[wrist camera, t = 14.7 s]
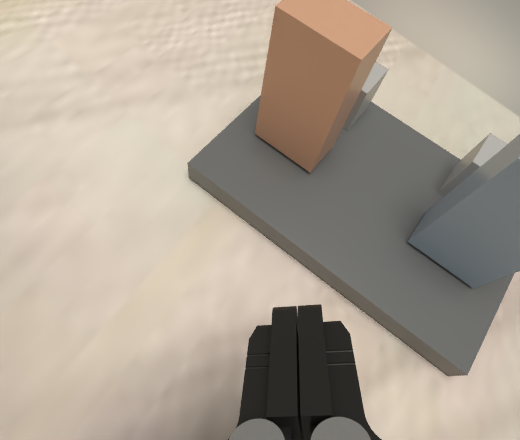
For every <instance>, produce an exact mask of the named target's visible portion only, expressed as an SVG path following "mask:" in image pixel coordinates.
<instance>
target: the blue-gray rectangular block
mask: <svg viewBox="0 0 520 440" xmlns="http://www.w3.org/2000/svg"><path fill="white" fill-rule="evenodd" d="M407 242H409V243H410V244H412V245H413V246H415V247H416V248H417V249H419V250H420V251H422V252H423V253H424V254H426V255H427V256H429V257H430V258H431V259H433V260H434V261H436V262H437V263H438V264H440V265H441V266H443V267H444V268H445V269H447V270H448V271H450V272H451V273H452V274H454V275H455V276H457V277H458V278H460V279H461V280H462V281H464V282H465V283H467V284H468V285H469V286H471V287H472V288H476V287H478V286H481V285H484V284H486V283H489V282H492V281H494V280H497V279H500V278H502V277H505V276H507V275H510V274H513V273H515V272H518V271H520V134H519V135H518V136H517V137H516V138H515V139H513V140H512V141H511V142H510V143H509V144H507V145H506V146H505V147H504V148H503V149H501V150H500V151H499V152H498V153H496V154H495V155H494V156H493V157H492V158H490V159H489V160H488V161H487V162H486V163H484V164H483V165H482V166H481V167H479V168H478V169H477V170H476V171H475V172H473V173H472V174H471V175H470V176H469V177H467V178H466V179H465V180H464V181H463V182H461V183H460V184H459V185H458V186H456V187H455V188H454V189H453V190H452V191H450V192H449V193H448V194H447V195H446V196H444V197H443V198H442V199H441V200H439V201H438V202H437V203H436V204H435V205H433V206H432V207H431V208H430V209H429V210H427V212H426V213H425V215H424V216H423V218H422V219H421V221H420V223H419V224H418V226H417V227H416V229H415V230H414V232H413V234H412V235H411V237H410V238H409V240H408V241H407Z"/></svg>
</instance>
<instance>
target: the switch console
mask: <svg viewBox="0 0 520 440" xmlns="http://www.w3.org/2000/svg"><path fill="white" fill-rule="evenodd" d="M387 71H388V69H387V68H386V67H384V66H382V65H381V64H379V63H378V62H375V64H374V66H373V68H372V70H371V72H370V74H369V76H368V78H367V80H366V82H365V84H364V86H363V88H362V90H361V92H360V94H359V96H358V98H357V100H356V102H355V104H354V106H353V108H352V110H351V112H350V114H349V116H348V118H347V120H346V122H345V124H344V126H343V128H342V130H341V132H340V134H339V136H338V138H337V140H336V142H335V144H334V146H333V147H332V148H331V150H330V151H329V152H328V153H327V154H326V155H325V157H324V158H323V159H322V160H321V161H320V162H319V164H318V165H317V166H316V167H315V168H314V169H313V170H312V172H311V173H310V172H308V171H307V170H305V169H304V168H303V167H301V166H300V165H298V164H297V163H296V162H294V161H293V160H291V159H290V158H289V157H287V156H286V155H284V154H283V153H282V152H280V151H279V150H277V149H276V148H275V147H273V146H272V145H270V144H269V143H267V142H266V141H265V140H263V139H262V138H260V137H259V136H258V135H256V134H255V128H256V122H257V116H258V110H259V104H260V98H261V95H260V96H259V97H258V98H257V99H256V100H255V101H254V102H253V103H252V104H251V105H250V106H249V107H248V108H246V109H245V110H244V111H243V112H242V113H241V114H240V115H239V116H238V117H237V118H236V119H235V120H234V121H232V122H231V123H230V124H229V125H228V126H227V127H226V128H225V129H224V130H223V131H222V132H221V133H220V134H218V135H217V136H216V137H215V138H214V139H213V140H212V141H211V142H210V143H209V144H208V145H207V146H206V147H204V148H203V149H202V150H201V151H200V152H199V153H198V154H197V155H196V156H195V157H194V158H193V159H192V160H190V161H189V162H188V171H189V178H190V179H191V180H193V181H194V182H195V183H197V184H198V185H199V186H201V187H202V188H203V189H204V190H206V191H207V192H208V193H210V194H211V195H212V196H214V197H215V198H216V199H218V200H219V201H220V202H221V203H223V204H224V205H225V206H227V207H228V208H229V209H231V210H232V211H233V212H235V213H236V214H237V215H238V216H240V217H241V218H242V219H244V220H245V221H246V222H248V223H249V224H250V225H251V226H253V227H254V228H255V229H257V230H258V231H259V232H261V233H262V234H263V235H265V236H266V237H267V238H268V239H270V240H271V241H272V242H274V243H275V244H276V245H278V246H279V247H280V248H282V249H283V250H284V251H285V252H287V253H288V254H289V255H291V256H292V257H293V258H295V259H296V260H297V261H299V262H300V263H301V264H302V265H304V266H305V267H306V268H308V269H309V270H310V271H312V272H313V273H314V274H316V275H317V276H318V277H319V278H321V279H322V280H323V281H325V282H326V283H327V284H329V285H330V286H331V287H332V288H334V289H335V290H336V291H338V292H339V293H340V294H342V295H343V296H344V297H346V298H347V299H348V300H349V301H351V302H352V303H353V304H355V305H356V306H357V307H359V308H360V309H361V310H363V311H364V312H365V313H366V314H368V315H369V316H370V317H372V318H373V319H374V320H376V321H377V322H378V323H380V324H381V325H382V326H383V327H385V328H386V329H387V330H389V331H390V332H391V333H393V334H394V335H395V336H397V337H398V338H399V339H400V340H402V341H403V342H404V343H406V344H407V345H408V346H410V347H411V348H412V349H413V350H415V351H416V352H417V353H419V354H420V355H421V356H423V357H424V358H425V359H427V360H428V361H429V362H430V363H432V364H433V365H434V366H436V367H437V368H438V369H440V370H441V371H442V372H444V373H445V374H446V375H447V376H459V375H468V373H469V371H470V368H471V366H472V364H473V362H474V360H475V358H476V355H477V353H478V351H479V349H480V347H481V345H482V342H483V340H484V338H485V336H486V334H487V332H488V329H489V327H490V325H491V323H492V321H493V319H494V316H495V314H496V312H497V310H498V308H499V306H500V303H501V301H502V299H503V297H504V295H505V293H506V290H507V288H508V286H509V284H510V282H511V280H512V277H513V275H514V273H513V274H510V275H507V276H505V277H502V278H500V279H497V280H494V281H492V282H489V283H486V284H484V285H481V286H478V287H476V288H472V287H471V286H469V285H468V284H467V283H465V282H464V281H462V280H461V279H460V278H458V277H457V276H455V275H454V274H452V273H451V272H450V271H448V270H447V269H445V268H444V267H443V266H441V265H440V264H438V263H437V262H436V261H434V260H433V259H431V258H430V257H429V256H427V255H426V254H424V253H423V252H422V251H420V250H419V249H417V248H416V247H415V246H413V245H412V244H410V243H409V242H407V241H408V240H409V238H410V237H411V235H412V234H413V232H414V230H415V229H416V227H417V226H418V224H419V223H420V221H421V219H422V218H423V216H424V215H425V213H426V212H427V210H429V209H430V208H431V207H432V206H433V205H435V204H436V203H437V202H438V201H439V200H441V199H442V198H443V197H444V196H446V195H447V194H448V193H449V192H450V191H452V190H453V189H454V188H455V187H456V186H458V185H459V184H460V183H461V182H463V181H464V180H465V179H466V178H467V177H469V176H470V175H471V174H472V173H473V172H475V171H476V170H477V169H478V168H479V167H481V166H482V165H483V164H484V163H486V162H487V161H488V160H489V159H490V158H492V157H493V156H494V155H495V154H496V153H498V152H499V151H500V150H501V149H503V148H504V147H505V146H506V145H507V143H505V142H504V141H502V140H501V139H499V138H497V137H496V136H494V135H493V134H491V133H490V134H489V135H488V136H487V137H485V138H484V139H483V140H482V141H481V142H480V143H479V144H478V145H477V146H476V147H475V148H473V149H472V150H471V151H470V152H469V153H468V154H467V155H466V156H465V157H464V158H463V159H461V160H460V159H458V158H457V157H455V156H454V155H452V154H451V153H449V152H448V151H446V150H445V149H443V148H442V147H440V146H438V145H437V144H435V143H434V142H432V141H431V140H429V139H428V138H426V137H425V136H423V135H422V134H420V133H418V132H417V131H415V130H414V129H412V128H411V127H409V126H408V125H406V124H405V123H403V122H402V121H400V120H398V119H397V118H395V117H394V116H392V115H391V114H389V113H388V112H386V111H385V110H383V109H381V108H380V107H378V106H377V105H375V104H374V103H372V102H371V100H372V98H373V97H374V95H375V93H376V91H377V89H378V88H379V86H380V84H381V82H382V80H383V78H384V77H385V75H386V73H387Z"/></svg>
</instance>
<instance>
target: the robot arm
mask: <svg viewBox="0 0 520 440" xmlns="http://www.w3.org/2000/svg"><path fill="white" fill-rule="evenodd" d="M228 440H381V439H380V438H379V437H378V436H377V435H376V434H375V433H374V432H373V431H372V430H371V428H370V426H369V425H368V423H367V421H366V418H365V414H364V409H363V403H362V398H361V392H360V387H359V381H358V376H357V370H356V365H355V359H354V354H353V348H352V343H351V337H350V333H349V332H348V331H347V329H346V328H345V327H344V325H343V324H342V322H341V321H331V322H323V317H322V307H321V305H306V306H298V314H297V307H296V306H291V307H275V308H273V312H272V325H263V326H257V327H256V329H255V330H254V332H253V334H252V335H251V337H250V338H249V344H248V352H247V360H246V370H245V376H244V384H243V392H242V400H241V408H240V416H239V421H238V424H237V427H236V429H235V430H234V431H233V433H232V434H231V436H230V438H229V439H228Z"/></svg>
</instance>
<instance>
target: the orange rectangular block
mask: <svg viewBox="0 0 520 440" xmlns="http://www.w3.org/2000/svg"><path fill="white" fill-rule="evenodd" d="M391 29H392V27H390V26H388V25H387V24H385V23H383V22H382V21H380V20H378V19H377V18H375V17H373V16H372V15H370V14H368V13H367V12H365V11H363V10H362V9H360V8H359V7H357V6H355V5H354V4H352V3H350V2H349V1H347V0H282V1H281V2H280V3H279V4H277V5H276V6H275V12H274V18H273V25H272V31H271V37H270V43H269V49H268V55H267V61H266V67H265V73H264V79H263V86H262V92H261V98H260V104H259V110H258V116H257V122H256V128H255V134H256V135H258V136H259V137H260V138H262V139H263V140H265V141H266V142H267V143H269V144H270V145H272V146H273V147H275V148H276V149H277V150H279V151H280V152H282V153H283V154H284V155H286V156H287V157H289V158H290V159H291V160H293V161H294V162H296V163H297V164H298V165H300V166H301V167H303V168H304V169H305V170H307V171H308V172H310V173H311V172H312V170H313V169H314V168H315V167H316V166H317V165H318V164H319V162H320V161H321V160H322V159H323V158H324V157H325V155H326V154H327V153H328V152H329V151H330V150H331V148H332V147H333V146H334V144H335V142H336V140H337V138H338V136H339V134H340V132H341V130H342V128H343V126H344V124H345V122H346V120H347V118H348V116H349V114H350V112H351V110H352V108H353V106H354V104H355V102H356V100H357V98H358V96H359V94H360V92H361V90H362V88H363V86H364V84H365V82H366V80H367V78H368V76H369V74H370V72H371V70H372V68H373V66H374V64H375V62H376V60H377V58H378V56H379V54H380V52H381V50H382V48H383V46H384V44H385V42H386V39H387V37H388V35H389V33H390V31H391Z"/></svg>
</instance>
